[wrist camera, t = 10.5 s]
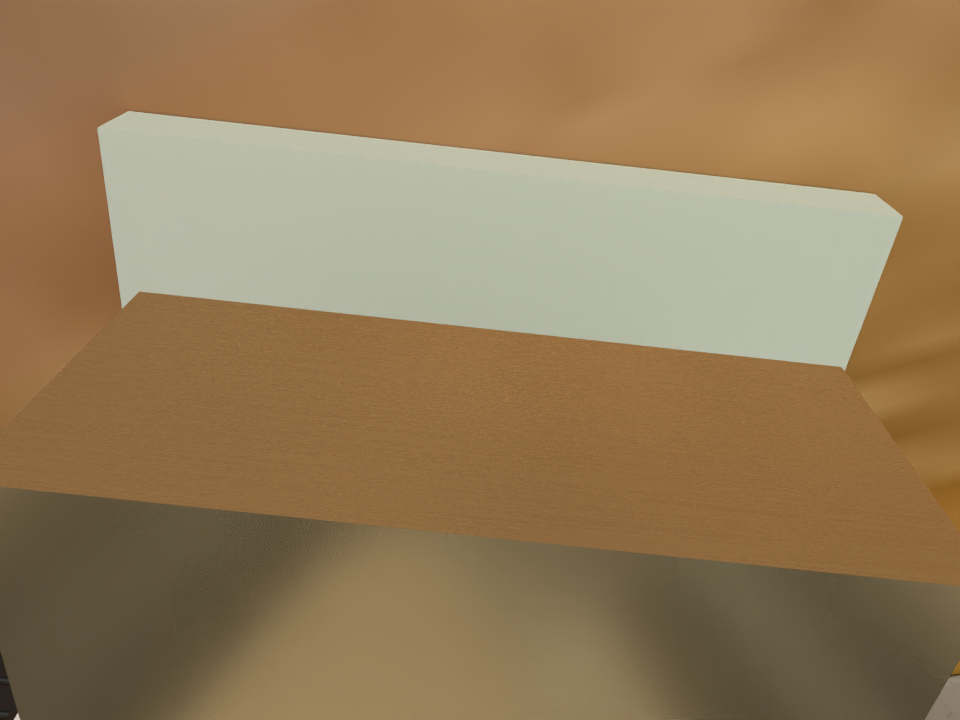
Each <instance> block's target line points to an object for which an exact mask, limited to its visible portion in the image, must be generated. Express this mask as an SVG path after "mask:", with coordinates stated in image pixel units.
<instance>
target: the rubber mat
mask: <svg viewBox="0 0 960 720" xmlns="http://www.w3.org/2000/svg"><path fill="white" fill-rule="evenodd" d="M97 129H98V136H99V143H100V151H101V158H102V165H103V173H104V180H105V187H106V195H107V202H108V209H109V217H110V224H111V231H112V239H113V246H114V253H115V261H116V268H117V275H118V283H119V290H120V297H121V305H122V309H123V307H124V306H125V305H126V304H127V303H128V302H129V301H130V300H131V299H132V298H133V297H134V296H135V295H136V294H137V293H138V292H139V291H140V292H149V293H159V294H168V295H177V296H186V297H196V298H205V299H214V300H224V301H233V302H242V303H251V304H261V305H270V306H279V307H289V308H298V309H307V310H316V311H326V312H335V313H344V314H354V315H363V316H372V317H382V318H391V319H400V320H409V321H419V322H428V323H437V324H447V325H456V326H465V327H474V328H484V329H493V330H502V331H512V332H521V333H530V334H540V335H549V336H558V337H567V338H577V339H586V340H595V341H605V342H614V343H623V344H632V345H642V346H651V347H660V348H670V349H679V350H688V351H697V352H707V353H716V354H725V355H735V356H744V357H753V358H763V359H772V360H781V361H790V362H800V363H809V364H818V365H828V366H837V367H842V368H843V370H844V371H845V369H846V366H847V363H848V361H849V358H850V355H851V353H852V350H853V348H854V345H855V342H856V340H857V337H858V334H859V332H860V329H861V327H862V324H863V321H864V319H865V316H866V313H867V311H868V308H869V305H870V303H871V300H872V298H873V295H874V292H875V290H876V287H877V284H878V282H879V279H880V277H881V274H882V271H883V269H884V266H885V263H886V261H887V258H888V255H889V253H890V250H891V248H892V245H893V242H894V240H895V237H896V234H897V232H898V229H899V227H900V224H901V221H902V219H903V216H902V215H900V214H899V213H898V212H897V211H895V210H894V209H893V208H892V207H890V206H889V205H888V204H887V203H885V202H884V201H883V200H882V199H880V198H879V197H878V196H877V195H875V194H871V193H862V192H853V191H844V190H835V189H826V188H817V187H808V186H799V185H790V184H781V183H772V182H763V181H754V180H745V179H736V178H727V177H718V176H709V175H700V174H691V173H682V172H673V171H664V170H655V169H646V168H637V167H628V166H619V165H610V164H601V163H592V162H583V161H574V160H565V159H556V158H547V157H538V156H529V155H520V154H511V153H502V152H493V151H483V150H474V149H465V148H456V147H447V146H438V145H429V144H420V143H411V142H402V141H393V140H384V139H375V138H366V137H357V136H348V135H339V134H330V133H321V132H312V131H303V130H294V129H285V128H276V127H267V126H258V125H249V124H240V123H231V122H222V121H213V120H204V119H195V118H186V117H177V116H168V115H159V114H150V113H141V112H132V111H128V112H126V113H124V114H122V115H120V116H118V117H117V118H115V119H113V120H111V121H109V122H107V123H105V124H103V125H101V126H99V127H98V128H97Z"/></svg>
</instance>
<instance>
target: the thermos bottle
mask: <svg viewBox="0 0 960 720" xmlns="http://www.w3.org/2000/svg"><path fill="white" fill-rule="evenodd" d="M925 720H960V675H953V676H950V677H949V679H948V681H947V682H946V684H945V686H944V688H943V689H942V691H941V693H940V694H939V696H938V698H937V700H936V701H935V703H934V705H933V706H932V708H931V710H930V712H929V713H928V715H927V717H926V718H925Z"/></svg>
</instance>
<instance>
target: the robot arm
mask: <svg viewBox="0 0 960 720" xmlns="http://www.w3.org/2000/svg"><path fill="white" fill-rule="evenodd" d="M0 720H20V718H19V714H18V711H17V707H16V704H15V700H14V697H13V693H12V690H11V686H10V683H9V679H8V676H7V672H6V669H5V665H4V662H3V658H2V655H1V652H0Z"/></svg>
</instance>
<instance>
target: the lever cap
mask: <svg viewBox="0 0 960 720" xmlns="http://www.w3.org/2000/svg"><path fill="white" fill-rule="evenodd" d="M0 652H1V655H2V658H3V662H4V665H5V669H6V672H7V676H8V679H9V683H10V686H11V690H12V693H13V697H14V700H15V704H16V707H17V711H18V714H19V718H20V720H925V718H926V717H927V715H928V713H929V712H930V710H931V708H932V706H933V705H934V703H935V701H936V700H937V698H938V696H939V694H940V693H941V691H942V689H943V688H944V686H945V684H946V682H947V681H948V679H949V677H950V676H951V674H952V672H953V670H954V669H955V667H956V665H957V664H958V662H959V660H960V533H959V532H958V530H957V529H956V528H955V526H954V525H953V523H952V522H951V520H950V519H949V518H948V516H947V515H946V513H945V512H944V511H943V509H942V508H941V506H940V505H939V504H938V502H937V501H936V499H935V498H934V497H933V495H932V494H931V492H930V491H929V490H928V488H927V487H926V485H925V484H924V482H923V481H922V480H921V478H920V477H919V475H918V474H917V473H916V471H915V470H914V468H913V467H912V466H911V464H910V463H909V461H908V460H907V459H906V457H905V456H904V454H903V453H902V451H901V450H900V449H899V447H898V446H897V444H896V443H895V442H894V440H893V439H892V437H891V436H890V435H889V433H888V432H887V430H886V429H885V428H884V426H883V425H882V423H881V422H880V420H879V419H878V418H877V416H876V415H875V413H874V412H873V411H872V409H871V408H870V406H869V405H868V404H867V402H866V401H865V399H864V398H863V397H862V395H861V394H860V392H859V391H858V390H857V388H856V387H855V385H854V384H853V382H852V381H851V380H850V378H849V377H848V375H847V374H846V373H845V371H844V370H843V368H842V367H837V366H828V365H818V364H809V363H800V362H790V361H781V360H772V359H763V358H753V357H744V356H735V355H725V354H716V353H707V352H697V351H688V350H679V349H670V348H660V347H651V346H642V345H632V344H623V343H614V342H605V341H595V340H586V339H577V338H567V337H558V336H549V335H540V334H530V333H521V332H512V331H502V330H493V329H484V328H474V327H465V326H456V325H447V324H437V323H428V322H419V321H409V320H400V319H391V318H382V317H372V316H363V315H354V314H344V313H335V312H326V311H316V310H307V309H298V308H289V307H279V306H270V305H261V304H251V303H242V302H233V301H224V300H214V299H205V298H196V297H186V296H177V295H168V294H159V293H149V292H140V291H139V292H138V293H137V294H136V295H135V296H134V297H133V298H132V299H131V300H130V301H129V302H128V303H127V304H126V305H125V306H124V307H123V309H122V310H121V311H120V312H119V313H118V314H117V315H116V316H115V317H114V318H113V319H112V320H111V321H110V322H109V323H108V324H107V325H106V326H105V327H104V328H103V329H102V330H101V331H100V332H99V333H98V334H97V335H96V336H95V337H94V338H93V339H92V340H91V341H90V342H89V343H88V344H87V345H86V346H85V347H84V348H83V349H82V350H81V351H80V352H79V353H78V354H77V355H76V356H75V357H74V358H73V359H72V360H71V361H70V362H69V363H68V364H67V365H66V366H65V367H64V368H63V369H62V370H61V371H60V372H59V373H58V374H57V375H56V376H55V377H54V378H53V380H52V381H51V382H50V383H49V384H48V385H47V386H46V387H45V388H44V389H43V390H42V391H41V392H40V393H39V394H38V395H37V396H36V397H35V398H34V399H33V400H32V401H31V402H30V403H29V404H28V405H27V406H26V407H25V408H24V409H23V410H22V411H21V412H20V413H19V414H18V415H17V416H16V417H15V418H14V419H13V420H12V421H11V422H10V423H9V424H8V425H7V426H6V427H5V428H4V429H3V430H2V431H1V432H0Z"/></svg>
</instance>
